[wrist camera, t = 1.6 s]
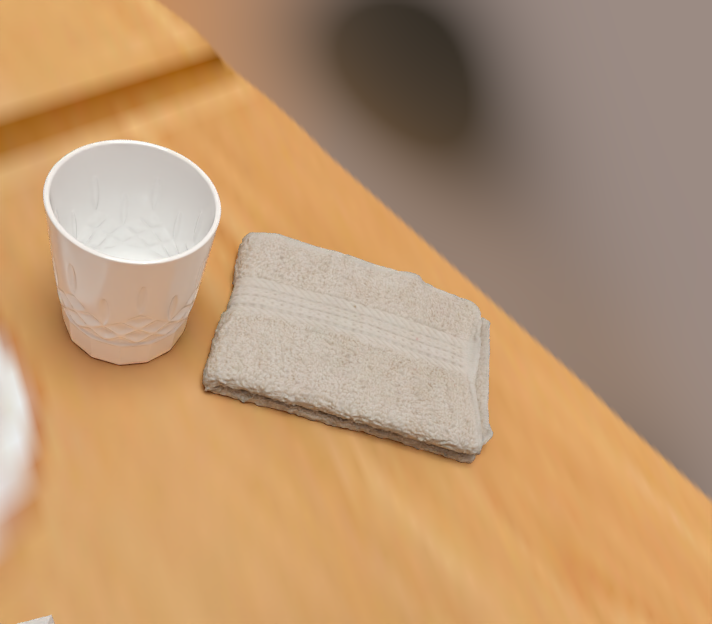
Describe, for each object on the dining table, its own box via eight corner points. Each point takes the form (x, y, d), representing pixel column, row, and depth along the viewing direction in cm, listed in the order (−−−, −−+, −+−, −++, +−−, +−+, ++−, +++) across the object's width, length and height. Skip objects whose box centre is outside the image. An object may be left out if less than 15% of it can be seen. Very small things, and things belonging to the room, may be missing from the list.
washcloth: (479, 473, 40) (503, 453, 38) (192, 399, 37) (199, 373, 35) (477, 321, 48) (498, 297, 45) (238, 249, 44) (247, 219, 42)
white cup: (215, 352, 39) (247, 244, 31) (77, 393, 35) (74, 280, 27) (166, 252, 42) (184, 131, 34) (34, 279, 38) (21, 148, 30)
